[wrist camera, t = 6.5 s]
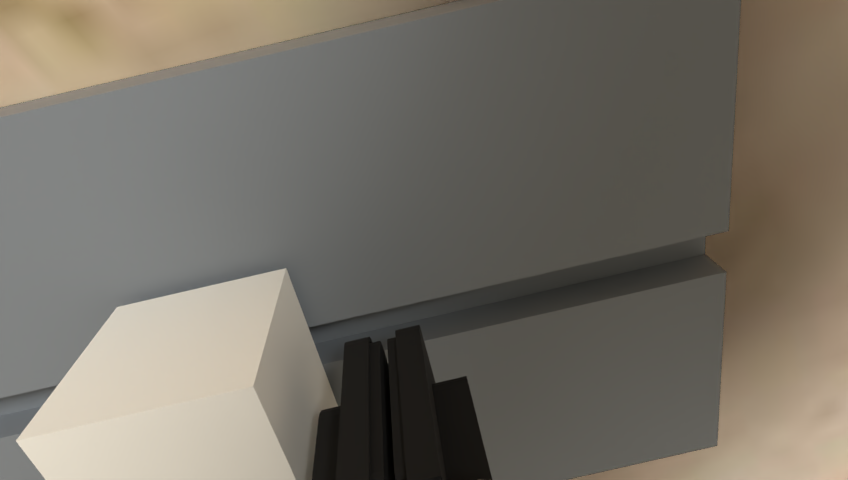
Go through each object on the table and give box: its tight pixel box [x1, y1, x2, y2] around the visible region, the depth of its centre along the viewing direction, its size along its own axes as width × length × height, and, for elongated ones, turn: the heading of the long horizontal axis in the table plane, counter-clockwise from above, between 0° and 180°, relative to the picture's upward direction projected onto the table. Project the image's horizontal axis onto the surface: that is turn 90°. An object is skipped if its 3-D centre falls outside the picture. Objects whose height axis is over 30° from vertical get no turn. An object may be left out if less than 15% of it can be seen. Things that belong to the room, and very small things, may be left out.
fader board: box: [0, 0, 741, 480], centre depth 15 cm, size 26×14×3 cm, turn 102°
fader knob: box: [16, 268, 338, 480], centre depth 12 cm, size 4×5×5 cm
